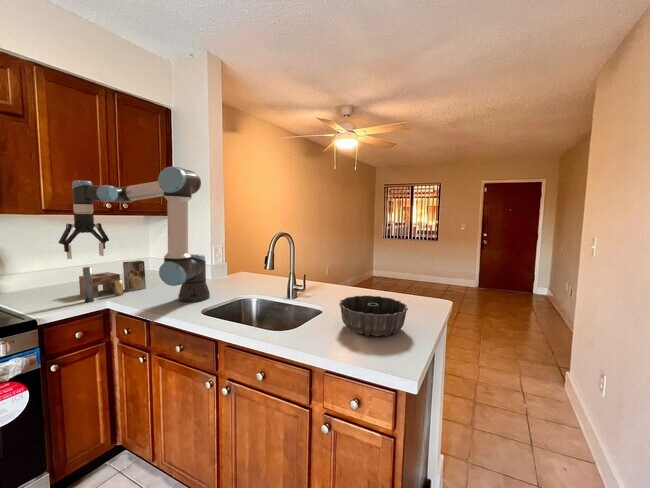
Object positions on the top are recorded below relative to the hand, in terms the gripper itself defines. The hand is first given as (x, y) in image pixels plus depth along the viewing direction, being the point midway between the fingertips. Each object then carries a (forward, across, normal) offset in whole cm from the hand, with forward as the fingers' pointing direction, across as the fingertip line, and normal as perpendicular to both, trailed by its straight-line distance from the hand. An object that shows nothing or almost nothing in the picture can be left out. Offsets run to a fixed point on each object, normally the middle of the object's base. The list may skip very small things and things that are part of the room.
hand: (86, 257), depth 151 cm
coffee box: (+22, -26, -6) cm, 35 cm away
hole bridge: (+22, -11, -12) cm, 27 cm away
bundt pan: (+21, -36, +134) cm, 141 cm away
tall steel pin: (+22, 0, 0) cm, 22 cm away
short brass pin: (+22, -14, 0) cm, 26 cm away
